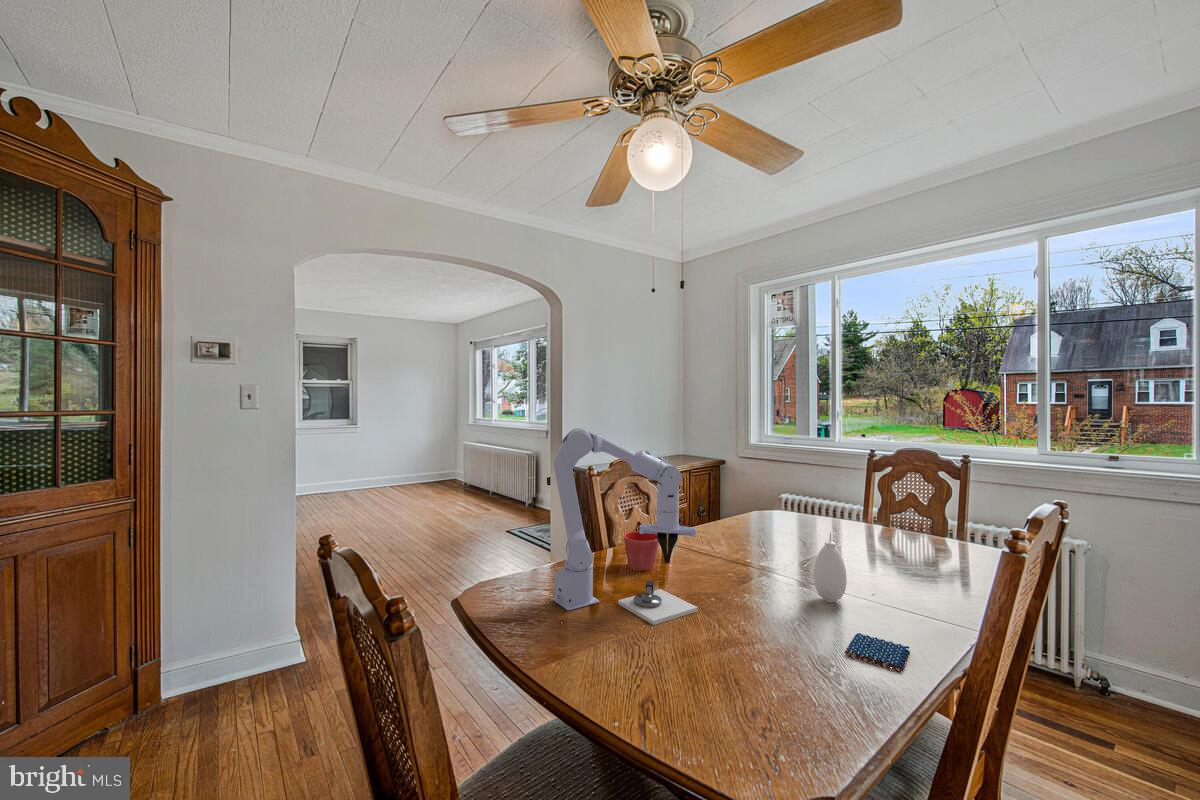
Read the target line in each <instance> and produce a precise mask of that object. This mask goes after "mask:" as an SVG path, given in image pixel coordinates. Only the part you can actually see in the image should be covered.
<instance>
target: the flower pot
mask: <svg viewBox="0 0 1200 800" xmlns="http://www.w3.org/2000/svg"><path fill="white" fill-rule="evenodd" d="M623 540H624V541H623V542H624V547H625V553H626V559H627V564H628V568H629V569H631V570H633V571H638V572H642V571H644V572H646V571H648V572H649V571H652V570H653V569H654V567H655V562H656V558H657V553H658V547H659V542H658V540H657V534H650V533H644V534H640V530H637V531H630V532H626V533H625V534H624V535H623Z"/></svg>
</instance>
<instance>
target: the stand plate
mask: <svg viewBox="0 0 1200 800" xmlns="http://www.w3.org/2000/svg"><path fill="white" fill-rule="evenodd" d="M653 594H654V595H657V596H659V597H660V598H661V599H662V603H661V604H660V605H659V606H656V607H642V606H639V605H636V604H635V603H634V597H635V596H636V595H633V596H630V597H628V596H627V597H625V598H622V599H618V600H617V605H619V606H620V607H623V608H624V609H626V610H627V611H629V612H630V613H633V614H634V615H636V616H637V617H639V618H641V619H642V620H643V621H645V622H648V623H649V624H651V625H652V626H656V625H659V624H662V623H665V622H667V621H671V620H674V619H678V618H681V617H684V616H688V615H690V614H693V613H697V612H699V611H698V609H699V607H698V606H696V605H694V604H691V603H690V602H688V601H686V600H684V599H682V598H680V597H677V596H676V595H674V594H671V593H669V592H667V591H666V590H663V589H660V588H659V589H654V593H653Z"/></svg>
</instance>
